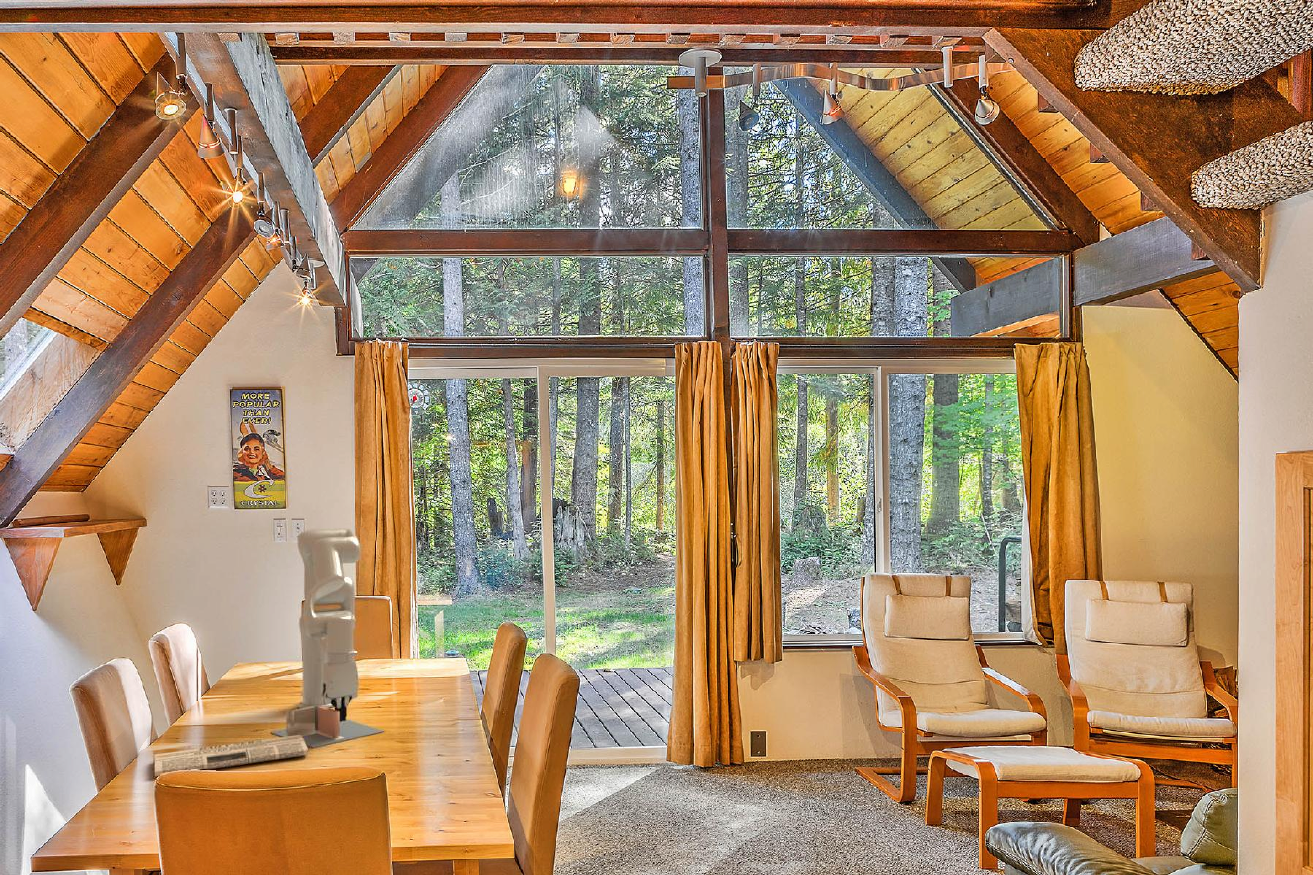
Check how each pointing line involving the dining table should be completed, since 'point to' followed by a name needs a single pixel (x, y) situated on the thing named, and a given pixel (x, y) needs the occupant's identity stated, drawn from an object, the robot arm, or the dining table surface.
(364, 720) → the dining table surface
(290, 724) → the fence fixed
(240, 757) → the newspaper
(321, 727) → the fence panel
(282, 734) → the card
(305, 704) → the robot arm
